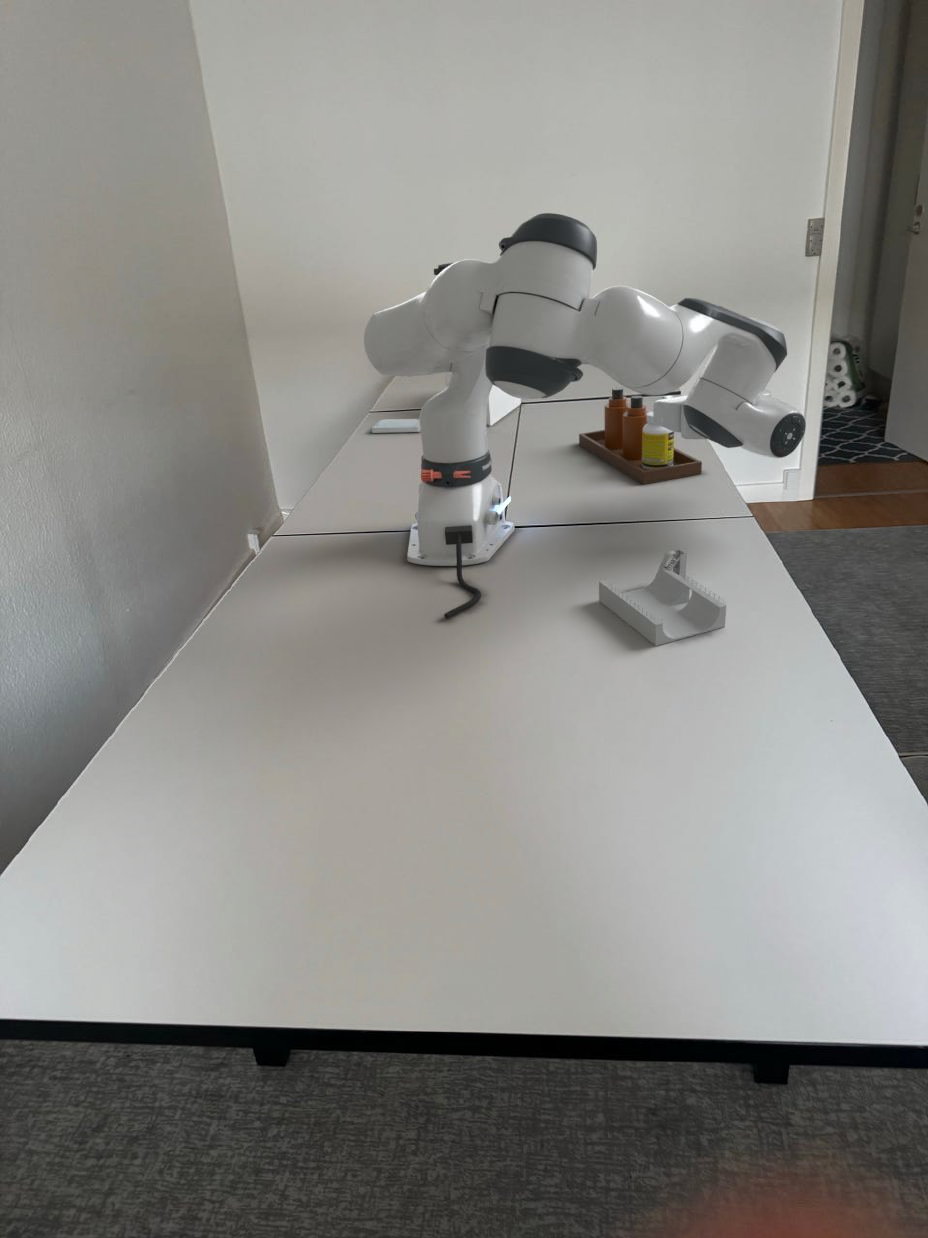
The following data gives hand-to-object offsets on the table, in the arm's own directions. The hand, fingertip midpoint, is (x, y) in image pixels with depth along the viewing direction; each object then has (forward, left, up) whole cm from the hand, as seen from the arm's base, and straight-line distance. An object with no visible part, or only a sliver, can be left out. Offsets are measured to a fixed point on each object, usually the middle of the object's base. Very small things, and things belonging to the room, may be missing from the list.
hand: (689, 396), depth 152 cm
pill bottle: (+10, +5, -17) cm, 20 cm away
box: (+68, +50, -17) cm, 86 cm away
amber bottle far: (+27, +14, -17) cm, 34 cm away
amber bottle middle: (+19, +9, -17) cm, 27 cm away
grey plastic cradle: (-51, +4, -17) cm, 54 cm away
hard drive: (+49, +69, -17) cm, 86 cm away
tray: (+19, +9, -17) cm, 27 cm away
